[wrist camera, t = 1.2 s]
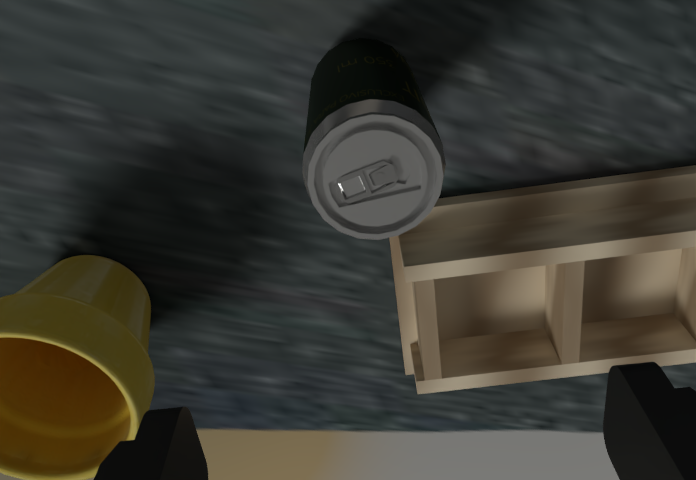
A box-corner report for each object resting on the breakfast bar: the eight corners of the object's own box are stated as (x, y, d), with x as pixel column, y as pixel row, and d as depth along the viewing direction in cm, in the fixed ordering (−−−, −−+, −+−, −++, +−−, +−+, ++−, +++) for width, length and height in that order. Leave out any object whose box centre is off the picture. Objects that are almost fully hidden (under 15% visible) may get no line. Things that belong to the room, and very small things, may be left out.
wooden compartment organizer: (866, 142, 35) (932, 175, 32) (817, 316, 41) (868, 361, 37) (385, 205, 37) (391, 243, 33) (404, 364, 43) (411, 413, 39)
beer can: (334, 150, 35) (335, 263, 25) (294, 59, 33) (275, 141, 22) (426, 115, 34) (468, 216, 24) (392, 18, 32) (422, 83, 21)
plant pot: (79, 385, 43) (17, 509, 34) (-26, 268, 38) (-130, 378, 30) (212, 330, 41) (180, 448, 32) (117, 200, 36) (51, 297, 28)
